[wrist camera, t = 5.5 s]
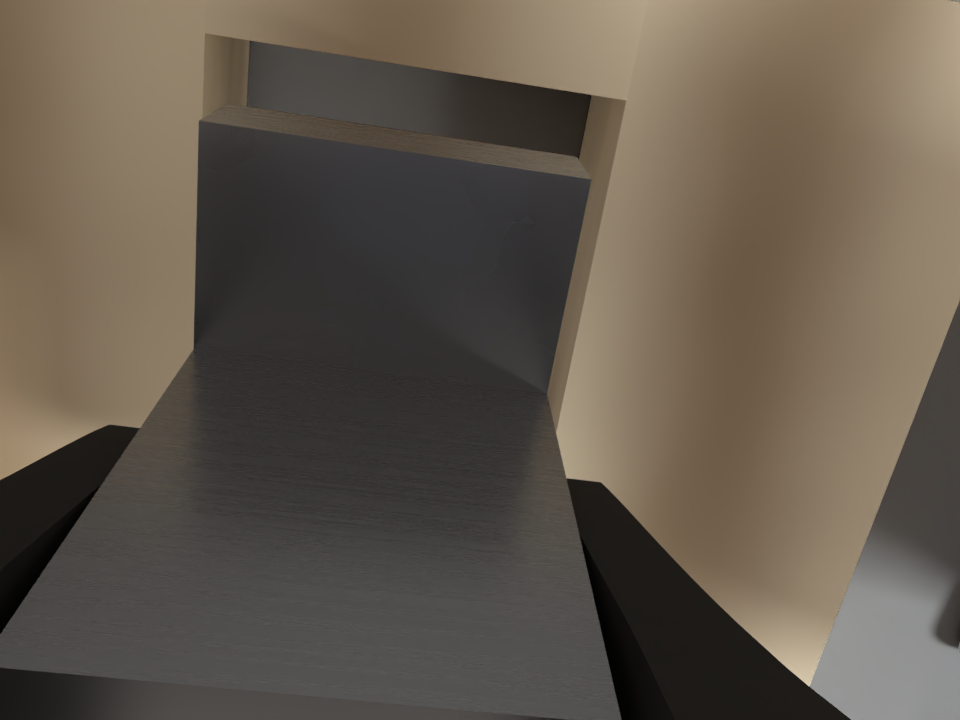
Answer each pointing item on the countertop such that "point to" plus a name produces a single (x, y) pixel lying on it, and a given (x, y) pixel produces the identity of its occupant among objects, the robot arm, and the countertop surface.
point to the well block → (600, 254)
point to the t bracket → (340, 455)
